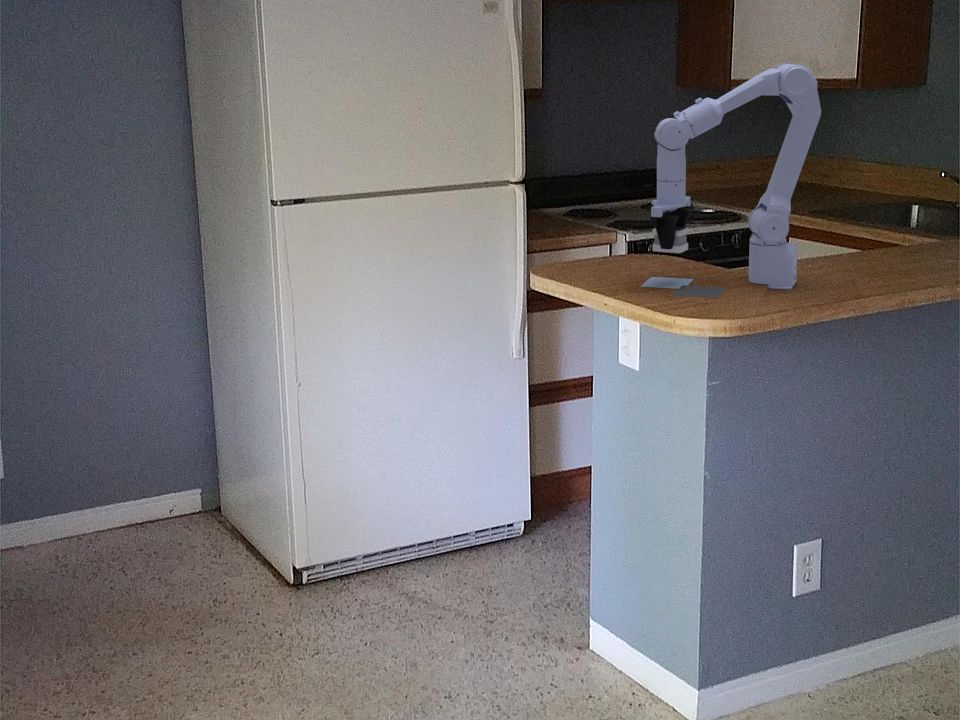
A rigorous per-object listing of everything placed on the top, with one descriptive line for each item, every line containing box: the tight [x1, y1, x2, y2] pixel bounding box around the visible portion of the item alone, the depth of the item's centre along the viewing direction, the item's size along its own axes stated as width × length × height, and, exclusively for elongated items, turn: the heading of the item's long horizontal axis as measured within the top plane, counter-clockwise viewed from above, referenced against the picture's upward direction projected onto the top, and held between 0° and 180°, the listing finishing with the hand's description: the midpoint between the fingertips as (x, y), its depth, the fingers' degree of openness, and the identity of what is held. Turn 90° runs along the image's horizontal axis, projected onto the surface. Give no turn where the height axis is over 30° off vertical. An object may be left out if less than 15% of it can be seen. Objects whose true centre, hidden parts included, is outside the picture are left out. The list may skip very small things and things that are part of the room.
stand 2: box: [671, 285, 727, 299], centre depth 240 cm, size 9×9×1 cm
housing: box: [652, 227, 689, 254], centre depth 244 cm, size 6×4×4 cm, turn 57°
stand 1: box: [639, 276, 695, 290], centre depth 248 cm, size 9×9×1 cm
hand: (671, 246), depth 245 cm, fingers closed on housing, 4 cm apart
